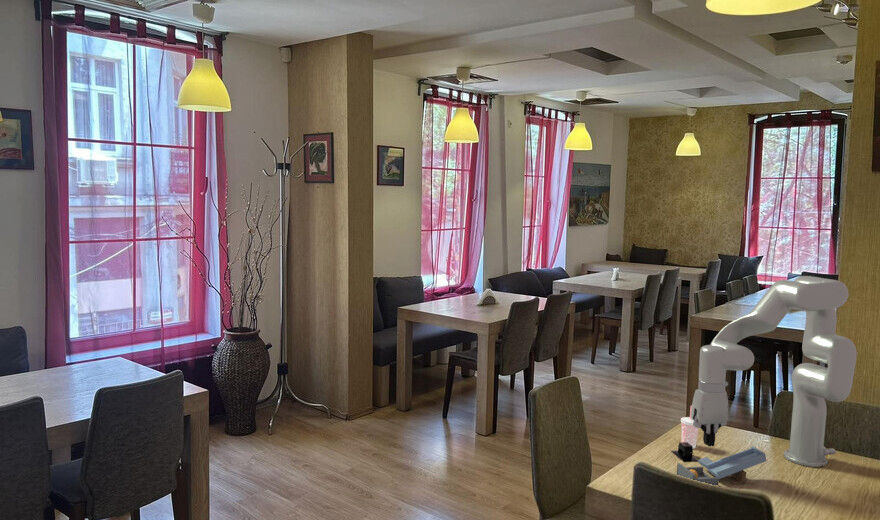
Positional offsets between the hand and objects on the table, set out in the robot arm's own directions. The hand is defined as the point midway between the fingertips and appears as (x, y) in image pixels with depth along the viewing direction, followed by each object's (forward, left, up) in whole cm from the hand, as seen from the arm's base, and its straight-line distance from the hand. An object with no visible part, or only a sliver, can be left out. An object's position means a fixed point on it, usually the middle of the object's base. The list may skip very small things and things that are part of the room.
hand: (708, 444), depth 206 cm
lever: (-5, +4, -4) cm, 8 cm away
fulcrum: (-5, +7, -8) cm, 12 cm away
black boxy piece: (0, -12, -9) cm, 15 cm away
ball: (+9, +7, -6) cm, 13 cm away
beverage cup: (-6, -20, -9) cm, 23 cm away
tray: (+8, +7, -8) cm, 13 cm away
